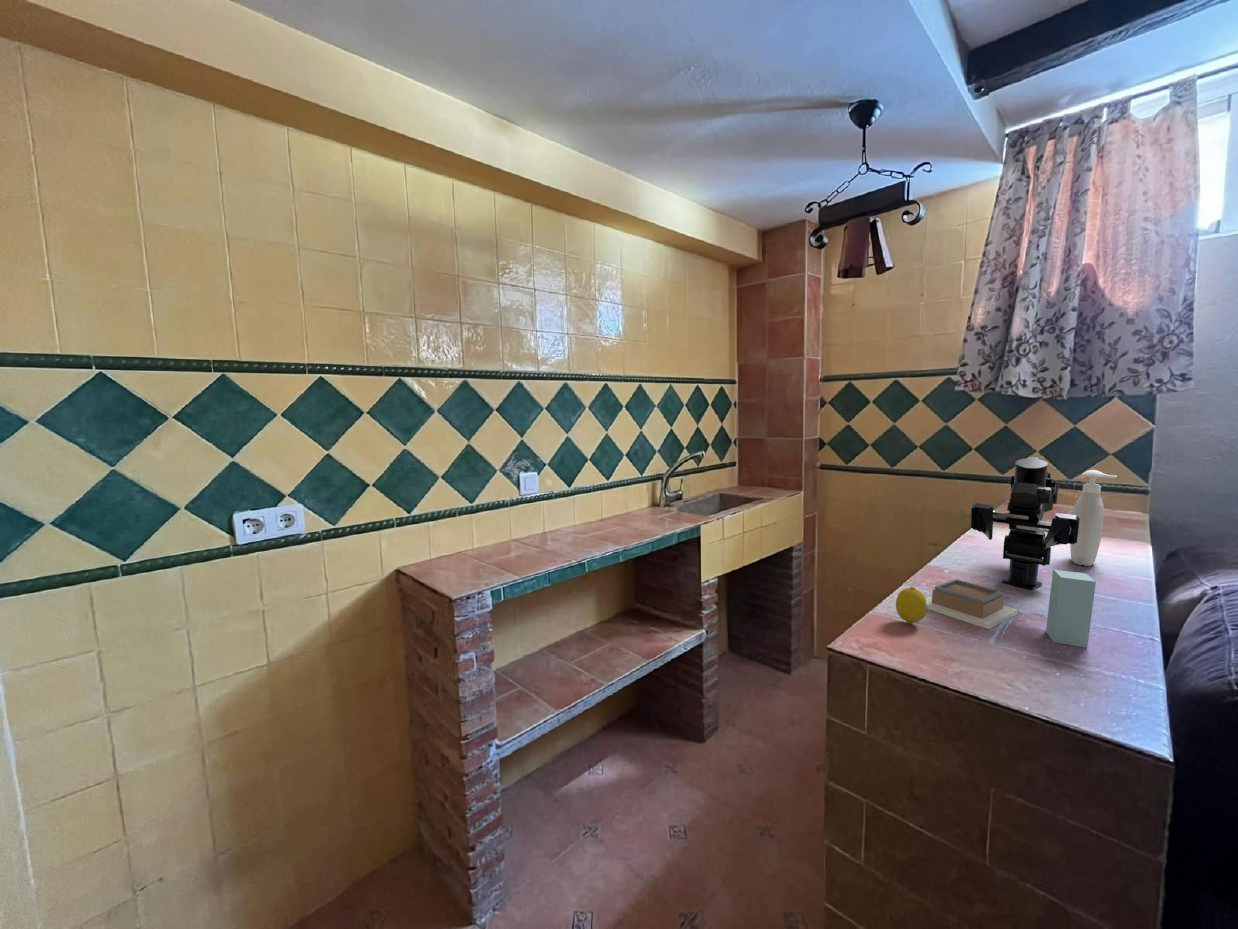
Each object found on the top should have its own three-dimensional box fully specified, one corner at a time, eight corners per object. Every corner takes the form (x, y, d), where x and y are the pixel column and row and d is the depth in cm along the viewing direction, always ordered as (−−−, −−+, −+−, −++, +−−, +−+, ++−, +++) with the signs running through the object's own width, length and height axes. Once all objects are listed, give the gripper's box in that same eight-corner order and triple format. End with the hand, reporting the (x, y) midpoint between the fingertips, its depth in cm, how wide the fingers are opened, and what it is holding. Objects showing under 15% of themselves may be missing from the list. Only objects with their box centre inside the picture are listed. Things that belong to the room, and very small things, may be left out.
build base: (947, 593, 121) (949, 574, 121) (1017, 614, 110) (1019, 593, 109) (917, 605, 114) (919, 585, 113) (988, 629, 102) (990, 607, 102)
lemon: (929, 631, 101) (932, 593, 100) (899, 628, 102) (902, 590, 101) (919, 619, 107) (922, 583, 106) (890, 617, 108) (893, 581, 107)
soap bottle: (1106, 572, 137) (1120, 474, 133) (1067, 566, 142) (1078, 471, 138) (1103, 560, 147) (1115, 469, 144) (1066, 554, 153) (1077, 466, 149)
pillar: (1045, 631, 101) (1053, 569, 100) (1078, 637, 99) (1086, 573, 98) (1053, 642, 97) (1061, 577, 95) (1087, 648, 95) (1095, 581, 93)
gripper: (979, 472, 121) (965, 502, 111) (1084, 481, 108) (1079, 516, 98) (977, 512, 125) (964, 545, 115) (1079, 525, 112) (1073, 563, 102)
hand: (1016, 542), depth 107 cm, fingers open, 9 cm apart
